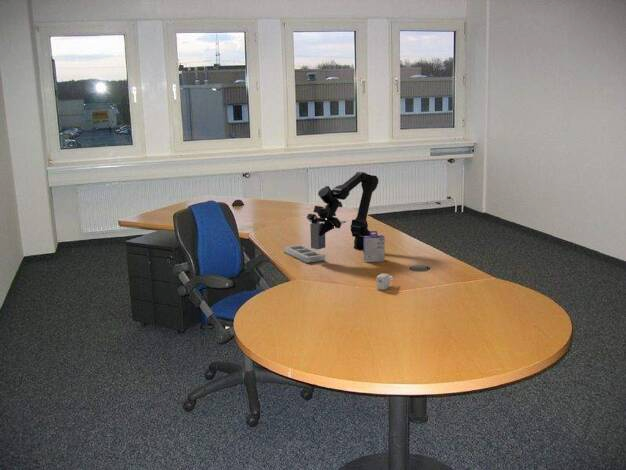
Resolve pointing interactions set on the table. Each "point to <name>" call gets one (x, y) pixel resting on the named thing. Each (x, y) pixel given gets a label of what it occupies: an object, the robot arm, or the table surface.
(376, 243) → the ink cartridge box
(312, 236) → the steel square peg
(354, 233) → the robot arm
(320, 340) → the table surface
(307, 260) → the silver compartment tray
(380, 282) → the power adapter
